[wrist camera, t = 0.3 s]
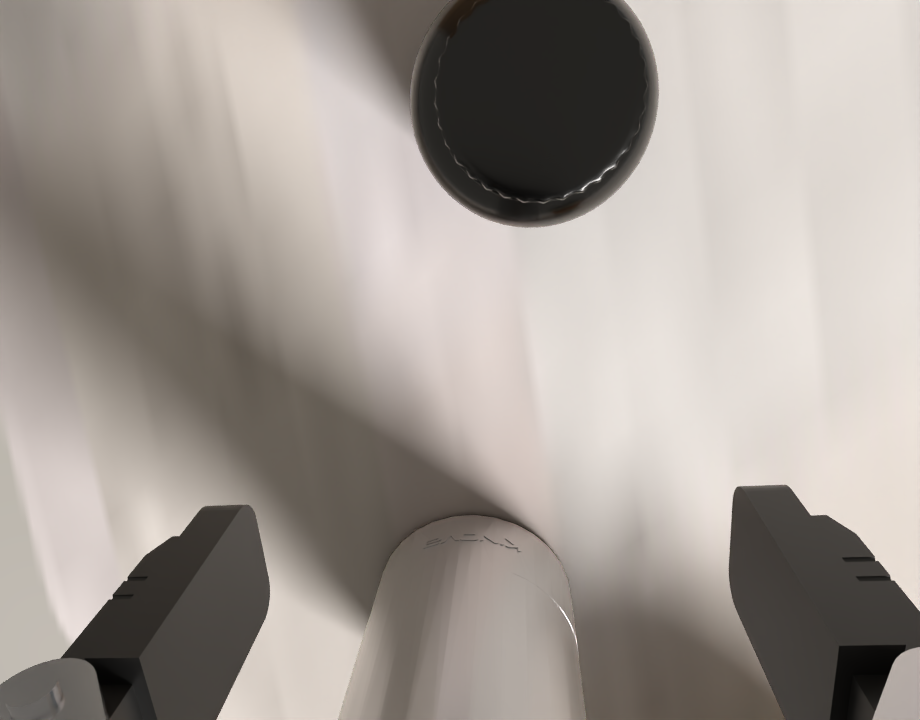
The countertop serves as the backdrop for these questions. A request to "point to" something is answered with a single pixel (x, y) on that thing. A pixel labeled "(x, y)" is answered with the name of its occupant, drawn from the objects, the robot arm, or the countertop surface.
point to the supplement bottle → (533, 105)
